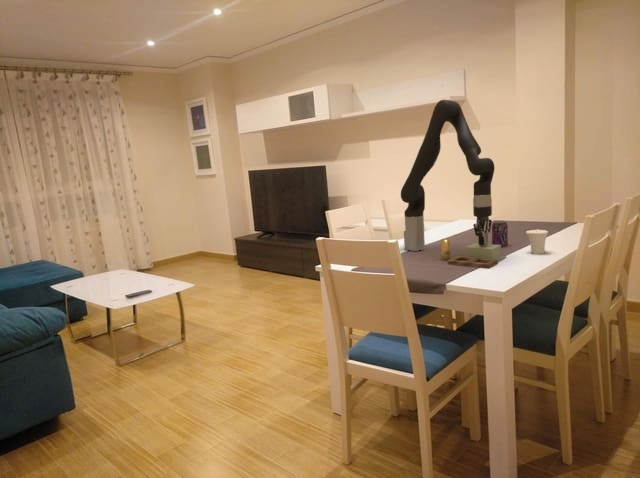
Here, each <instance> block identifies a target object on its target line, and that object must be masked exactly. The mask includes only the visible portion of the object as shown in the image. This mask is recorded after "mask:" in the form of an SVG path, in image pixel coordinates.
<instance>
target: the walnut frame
mask: <svg viewBox="0 0 640 478" xmlns="http://www.w3.org/2000/svg"><path fill="white" fill-rule="evenodd" d="M447 263H448V265H451V264H452V265H453V266H460V265H461V266H463V267H469V268H470V267H471V268H480V269H491V268H493V267H495V266H497V265H498V264H499V262H498V260H493V259H482V258H471V257H465V256H459V255H457V256H455V257H453V258H451V260H447Z"/></svg>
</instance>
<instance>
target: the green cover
mask: <svg viewBox="0 0 640 478" xmlns="http://www.w3.org/2000/svg"><path fill="white" fill-rule="evenodd" d="M465 256H466V257H471V258H482V259H493V260H495V259H497V258H499V257H501V256H502V247H501V245H492V243H491V244H488V243H487V233H486V232H484V245H479V243H478V242H477V243H472V244H470V245H467V246H465Z"/></svg>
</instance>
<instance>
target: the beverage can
mask: <svg viewBox="0 0 640 478" xmlns="http://www.w3.org/2000/svg"><path fill="white" fill-rule="evenodd" d="M508 229H509V227H508V224H507V221H505V220H497V221H495V220H494V221H492V224H491V245H501V248H505V247H507V246H508V245H509V242H508V241H509V239H508V238H509V237H508V234H509V233H508Z"/></svg>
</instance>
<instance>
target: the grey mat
mask: <svg viewBox="0 0 640 478" xmlns="http://www.w3.org/2000/svg"><path fill="white" fill-rule="evenodd" d="M464 257H466V255H465V256H464ZM507 257H508V256H505V255H501V257H499V258H497V259H495V260H498V263H499V262H501V261H503V260H505V259H507Z"/></svg>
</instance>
